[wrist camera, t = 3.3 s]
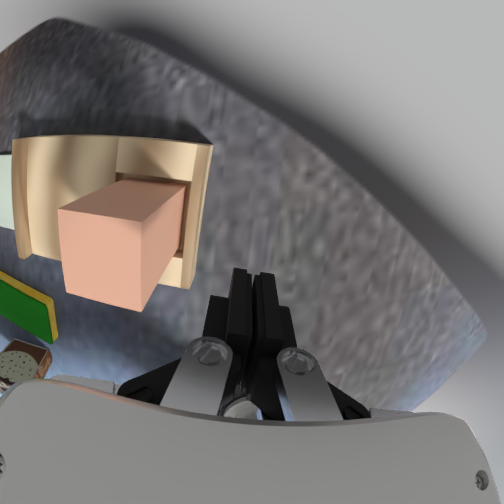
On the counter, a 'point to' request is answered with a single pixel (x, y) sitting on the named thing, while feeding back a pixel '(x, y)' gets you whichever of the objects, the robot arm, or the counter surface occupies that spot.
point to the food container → (22, 363)
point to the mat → (6, 192)
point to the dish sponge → (28, 308)
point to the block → (121, 240)
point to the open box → (99, 176)
